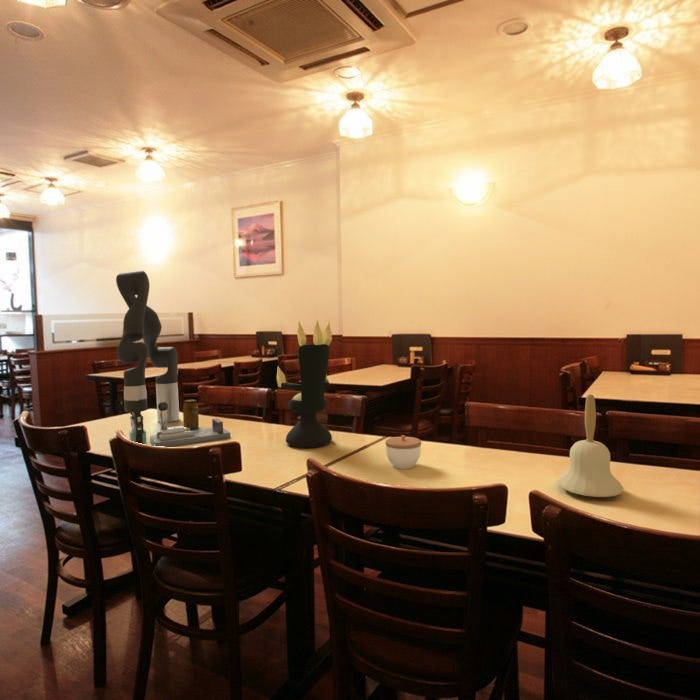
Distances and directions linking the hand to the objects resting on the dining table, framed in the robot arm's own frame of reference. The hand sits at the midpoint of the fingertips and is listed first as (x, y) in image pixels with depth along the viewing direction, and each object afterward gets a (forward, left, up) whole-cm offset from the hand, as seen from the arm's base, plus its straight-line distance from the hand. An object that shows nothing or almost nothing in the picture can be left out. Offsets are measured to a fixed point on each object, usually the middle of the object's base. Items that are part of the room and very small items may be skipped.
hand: (137, 442), depth 182 cm
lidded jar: (+72, +66, -2) cm, 98 cm away
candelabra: (+33, +54, -2) cm, 63 cm away
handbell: (+116, +92, -2) cm, 148 cm away
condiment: (-18, +23, -2) cm, 29 cm away
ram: (0, +13, 0) cm, 13 cm away
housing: (0, 0, -2) cm, 2 cm away
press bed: (0, +18, -2) cm, 18 cm away
